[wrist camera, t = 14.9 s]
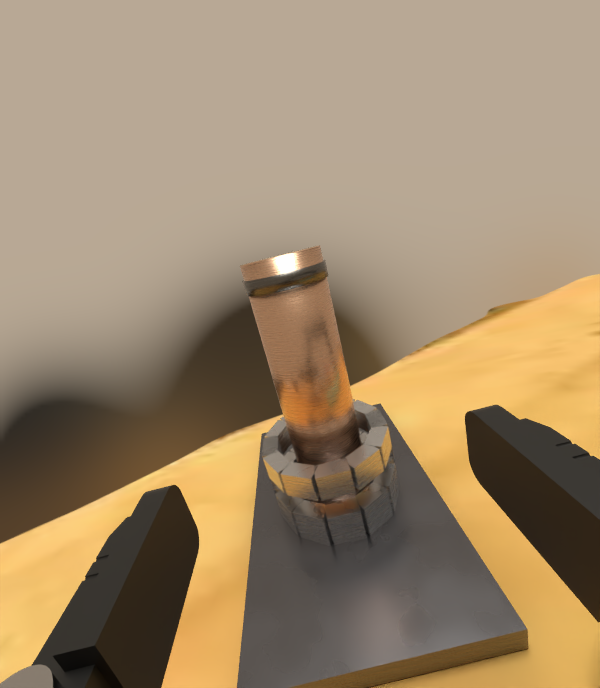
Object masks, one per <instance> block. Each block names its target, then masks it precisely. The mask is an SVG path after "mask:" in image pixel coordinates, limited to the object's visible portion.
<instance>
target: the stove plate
mask: <svg viewBox="0 0 600 688" xmlns="http://www.w3.org/2000/svg"><path fill="white" fill-rule="evenodd" d="M353 404H354V409H355V413H356V418H357V423H358V427H359V432H360V437H361V442H362V446H360V447H359V448H358V449H356V450H355V451H353V452H352V453H351V454H349V455H348V456H346V457H345V458H343V459H339V460H335V461H331V462H327V463H324V464H320V465H308V464H301V463H297V460H296V457H295V453H294V450H293V446H292V443H291V439H290V436H289V433H288V429H287V426H286V422H285V419H284V417H282V418H280V419H281V420H278V421H277V422H276V423H275V425H274V426H273V427H272V428H271V429H270V430H269V432H267V433H263V434H262V437H261V447H260V457H259V468H258V478H257V488H256V498H255V509H254V519H253V529H252V539H251V550H250V560H249V570H248V580H247V591H246V601H245V611H244V622H243V632H242V642H241V652H240V663H239V673H238V683H237V688H368V687H372V686H376V685H380V684H384V683H388V682H393V681H397V680H401V679H405V678H409V677H413V676H417V675H421V674H425V673H430V672H434V671H438V670H442V669H446V668H450V667H454V666H458V665H462V664H466V663H471V662H475V661H479V660H483V659H487V658H491V657H495V656H499V655H503V654H508V653H512V652H516V651H520V650H524V649H528V632H527V628H526V626H525V625H524V623H523V622H522V620H521V619H520V617H519V616H518V614H517V613H516V611H515V610H514V608H513V606H512V605H511V603H510V602H509V600H508V599H507V597H506V596H505V594H504V593H503V591H502V590H501V588H500V587H499V585H498V583H497V582H496V580H495V579H494V577H493V576H492V574H491V573H490V571H489V570H488V568H487V567H486V565H485V563H484V562H483V560H482V559H481V557H480V556H479V554H478V553H477V551H476V550H475V548H474V547H473V545H472V544H471V542H470V540H469V539H468V537H467V536H466V534H465V533H464V531H463V530H462V528H461V527H460V525H459V524H458V522H457V521H456V519H455V517H454V516H453V514H452V513H451V511H450V510H449V508H448V507H447V505H446V504H445V502H444V501H443V499H442V498H441V496H440V494H439V493H438V491H437V490H436V488H435V487H434V485H433V484H432V482H431V481H430V479H429V478H428V476H427V474H426V473H425V471H424V470H423V468H422V467H421V465H420V464H419V462H418V461H417V459H416V458H415V456H414V455H413V453H412V451H411V450H410V448H409V447H408V445H407V444H406V442H405V441H404V439H403V438H402V436H401V435H400V433H399V432H398V430H397V428H396V427H395V425H394V424H393V422H392V421H391V419H390V418H389V416H388V415H387V413H386V412H385V410H384V409H383V407H382V405H381V404H376V405H373V406H371V405H369V404H366V403H364V402H361V401H359V400H356V401H355V399H353ZM368 483H370V485H369V486H367V487H366V488H365V489H364V490H363V491H361V492H360V493H359V494H358V495H356V496H355V497H354V498H351V499H347V500H343V501H339V502H335V503H331V504H322V503H317V502H312V501H308V499H309V500H314V501H318V499H319V497H321V501H324V500H328V499H332V498H336V497H340V496H343V495H347V494H351V493H355V492H356V491H355V487H356V488H357V489H358V490H361V489H362V488H363V487H365V486H366V485H367V484H368Z"/></svg>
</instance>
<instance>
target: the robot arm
mask: <svg viewBox="0 0 600 688" xmlns="http://www.w3.org/2000/svg"><path fill="white" fill-rule="evenodd" d="M465 425H466V434H467V444H468V454H469V461H470V465H471V468H472V470H473V473H474V475H475V477H476V478H477V480H478V481H479V483H480V484H481V485H482V487H483V488H484V489H485V490H486V491H487V492H488V494H489V495H490V496H491V497H492V498H493V499H494V501H495V502H496V503H497V504H498V505H499V506H500V508H501V509H502V510H503V511H504V512H505V513H506V515H507V516H508V517H509V518H510V519H511V521H512V522H513V523H514V524H515V525H516V526H517V528H518V529H519V530H520V531H521V532H522V533H523V535H524V536H525V537H526V538H527V539H528V540H529V542H530V543H531V544H532V545H533V546H534V547H535V549H536V550H537V551H538V552H539V553H540V555H541V556H542V557H543V558H544V559H545V560H546V562H547V563H548V564H549V565H550V566H551V567H552V569H553V570H554V571H555V572H556V573H557V574H558V576H559V577H560V578H561V579H562V580H563V581H564V583H565V584H566V585H567V586H568V587H569V588H570V590H571V591H572V592H573V593H574V594H575V596H576V597H577V598H578V599H579V600H580V601H581V603H582V604H583V605H584V606H585V607H586V608H587V610H588V611H589V612H590V613H591V614H592V615H593V617H594V618H595V619H596V620H597V621H598V622H600V460H599V459H598V458H596V457H594V456H590V455H589V453H588V452H587V451H585V450H584V449H582V448H581V447H579V446H578V445H576V444H572V443H571V441H570V440H569V439H567V438H566V437H564V436H563V435H561V434H560V433H558V432H556V431H555V430H553V429H552V428H550V427H548V426H545V425H542V424H540V423H537V422H534V421H531V420H529V419H526V418H525V419H521V420H519V419H518V418H516V417H515V416H513V415H512V414H511V413H509V412H508V411H506V410H505V409H504V408H502V407H501V406H499V405H493V406H489V407H485V408H481V409H477V410H473V411H469V412H467V413H466V415H465ZM198 549H199V534H198V529H197V526H196V524H195V522H194V519H193V517H192V515H191V513H190V511H189V508H188V506H187V504H186V502H185V499H184V497H183V495H182V493H181V491H180V489H179V488H178V487H177V486H176V485H172V486H168V487H164V488H160V489H156V490H152V491H148V492H146V493H144V494H143V496H142V497H141V499H140V501H139V503H138V504H137V506H136V508H135V510H134V511H133V513H132V515H131V516H130V517H127V518H126V519H125V520H124V521H123V522H122V523H121V524H120V525H119V526H118V528H117V529H116V530H115V531H114V532H113V533H112V534H111V535H110V536H109V537H108V539H107V541H106V542H105V544H104V546H103V547H102V549H101V551H100V552H99V554H98V556H97V558H96V559H97V560H96V562H94V563H93V564H92V566H91V568H90V569H89V571H88V573H87V574H86V576H85V577H86V578H85V581H82V583H81V584H80V586H79V588H78V589H77V591H76V593H75V594H74V596H73V598H72V599H71V601H70V603H69V604H68V606H67V608H66V609H65V611H64V613H63V614H62V616H61V618H60V619H59V621H58V623H57V624H56V626H55V628H54V629H53V631H52V633H51V634H50V636H49V638H48V639H47V641H46V643H45V644H44V646H43V648H42V649H41V651H40V653H39V654H38V656H37V658H36V659H35V661H34V662H33V664H32V666H29V667H27V668H24V669H22V670H20V671H18V672H17V673H15V674H13V675H12V676H10V677H9V678H7V679H6V680H5V681H3V682H2V683H1V684H0V688H161V686H162V682H163V679H164V675H165V671H166V668H167V664H168V660H169V657H170V653H171V650H172V646H173V642H174V639H175V635H176V631H177V628H178V624H179V620H180V617H181V613H182V609H183V606H184V602H185V598H186V595H187V591H188V587H189V584H190V580H191V576H192V573H193V569H194V565H195V562H196V558H197V554H198Z"/></svg>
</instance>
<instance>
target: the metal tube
mask: <svg viewBox="0 0 600 688" xmlns="http://www.w3.org/2000/svg"><path fill="white" fill-rule="evenodd" d="M240 267H241V271H242V274H243V277H244V280H243V284H244V288H245V291H246V295H247V296H249V298H250V302H251V305H252V309H253V312H254V316H255V319H256V322H257V326H258V329H259V333H260V336H261V340H262V343H263V347H264V350H265V353H266V357H267V360H268V364H269V367H270V371H271V374H272V377H273V381H274V384H275V388H276V391H277V395H278V398H279V401H280V405H281V408H282V412H283V415H284V419H285V422H286V426H287V429H288V433H289V436H290V439H291V443H292V446H293V450H294V453H295V457H296V460H297V463H301V464H308V465H320V464H324V463H327V462H331V461H335V460H339V459H343V458H345V457H346V456H348V455H349V454H351V453H352V452H353V451H355V450H356V449H358V448H359V447H360V446H362V442H361V437H360V432H359V427H358V423H357V418H356V413H355V409H354V404H353V399H352V394H351V390H350V385H349V380H348V375H347V371H346V366H345V362H344V357H343V352H342V347H341V343H340V338H339V333H338V328H337V323H336V319H335V314H334V309H333V305H332V300H331V295H330V290H329V286H328V281H327V276H328V272H327V267H326V263H325V260H323V257H322V253H321V248H320V246H315V247H311V248H307V249H302V250H298V251H294V252H290V253H287V254H282V255H279V256H274V257H270V258H267V259H263V260H259V261H255V262H251V263H248V264H244V265H241V266H240ZM369 485H370V483H368V484H367V485H366V486H365V487H363V488H362V489H361V490H358V489H357V488H356V487H355V491H356V492H355V493H351V494H347V495H343V496H340V497H336V498H332V499H328V500H324V501H321V497H319V499H318V501H314V500H309V499H308V501H312V502H317V503H322V504H331V503H335V502H339V501H343V500H347V499H351V498H354V497H355V496H356V495H358V494H359V493H360V492H361V491H363V490H364V489H365V488H366V487H367V486H369Z"/></svg>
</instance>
